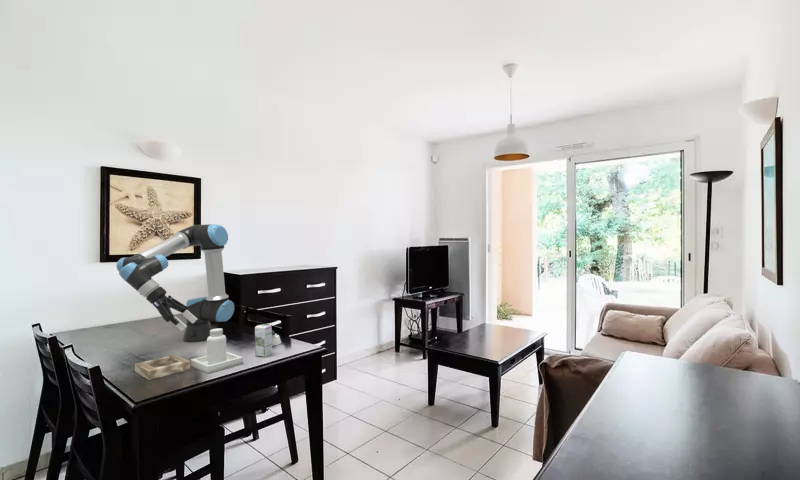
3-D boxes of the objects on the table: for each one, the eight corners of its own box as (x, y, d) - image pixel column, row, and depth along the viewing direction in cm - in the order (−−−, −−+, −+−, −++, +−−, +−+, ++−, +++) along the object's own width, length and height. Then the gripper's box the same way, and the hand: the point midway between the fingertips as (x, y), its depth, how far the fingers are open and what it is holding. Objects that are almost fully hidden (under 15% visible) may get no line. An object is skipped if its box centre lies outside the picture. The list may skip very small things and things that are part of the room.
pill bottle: (211, 360, 182) (210, 327, 182) (229, 359, 182) (228, 327, 182) (204, 365, 174) (203, 332, 174) (223, 365, 175) (222, 331, 174)
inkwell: (281, 340, 218) (281, 322, 218) (279, 350, 200) (279, 330, 200) (264, 342, 216) (264, 323, 216) (260, 351, 198) (259, 331, 198)
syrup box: (272, 354, 194) (272, 324, 193) (264, 357, 188) (264, 327, 188) (262, 353, 196) (262, 323, 195) (254, 356, 190) (254, 326, 190)
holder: (174, 362, 183) (174, 354, 183) (190, 369, 173) (189, 361, 173) (135, 371, 170) (134, 363, 170) (149, 380, 160) (148, 371, 160)
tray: (225, 357, 189) (225, 351, 189) (243, 363, 179) (243, 357, 179) (190, 366, 177) (190, 359, 177) (207, 373, 167) (207, 366, 167)
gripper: (158, 293, 185) (193, 324, 188) (132, 303, 160) (172, 338, 163) (170, 282, 186) (205, 312, 189) (146, 290, 161) (186, 325, 164)
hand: (190, 325), depth 176 cm, fingers open, 13 cm apart
